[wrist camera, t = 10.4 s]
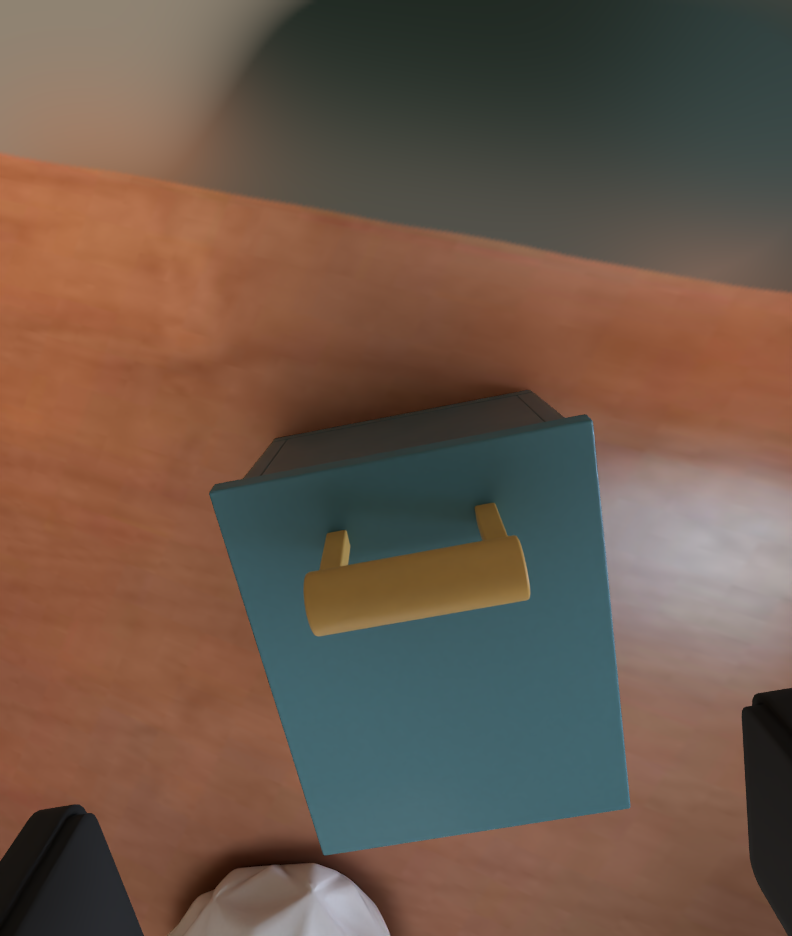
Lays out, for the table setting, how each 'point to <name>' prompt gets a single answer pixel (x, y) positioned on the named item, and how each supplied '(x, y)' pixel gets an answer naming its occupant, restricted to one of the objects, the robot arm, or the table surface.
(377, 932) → the vase
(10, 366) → the table surface
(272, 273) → the table surface
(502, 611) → the lid
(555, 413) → the chest
